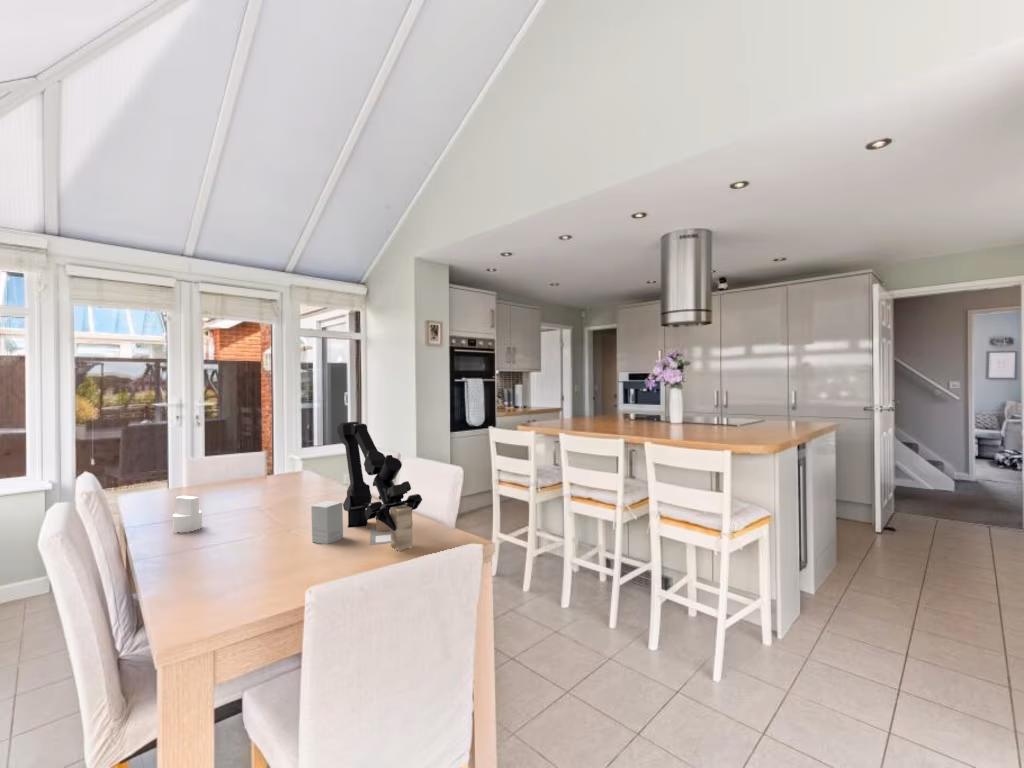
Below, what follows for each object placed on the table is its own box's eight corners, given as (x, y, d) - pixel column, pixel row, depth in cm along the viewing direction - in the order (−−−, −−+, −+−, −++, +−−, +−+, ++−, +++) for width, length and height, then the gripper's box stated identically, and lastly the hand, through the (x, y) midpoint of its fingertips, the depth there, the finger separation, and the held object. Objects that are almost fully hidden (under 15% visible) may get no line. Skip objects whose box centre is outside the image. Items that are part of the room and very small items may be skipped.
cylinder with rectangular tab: (167, 531, 176) (166, 499, 176) (191, 524, 184) (190, 493, 184) (183, 534, 173) (182, 501, 173) (207, 527, 181) (206, 495, 181)
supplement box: (343, 538, 165) (343, 502, 165) (327, 545, 159) (326, 507, 159) (328, 535, 169) (327, 500, 168) (311, 542, 162) (310, 505, 162)
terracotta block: (376, 531, 171) (376, 517, 171) (376, 527, 176) (376, 513, 176) (390, 530, 173) (390, 516, 173) (390, 526, 177) (390, 512, 177)
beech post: (390, 547, 156) (390, 507, 156) (404, 543, 159) (403, 504, 159) (398, 551, 152) (397, 510, 152) (412, 547, 155) (411, 507, 155)
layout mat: (369, 546, 157) (369, 544, 157) (370, 528, 177) (370, 526, 177) (400, 542, 160) (400, 541, 160) (398, 525, 179) (398, 524, 179)
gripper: (367, 478, 152) (384, 520, 144) (419, 470, 165) (437, 508, 157) (357, 498, 158) (373, 540, 150) (407, 489, 171) (424, 527, 162)
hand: (403, 528), depth 155 cm, fingers open, 6 cm apart
